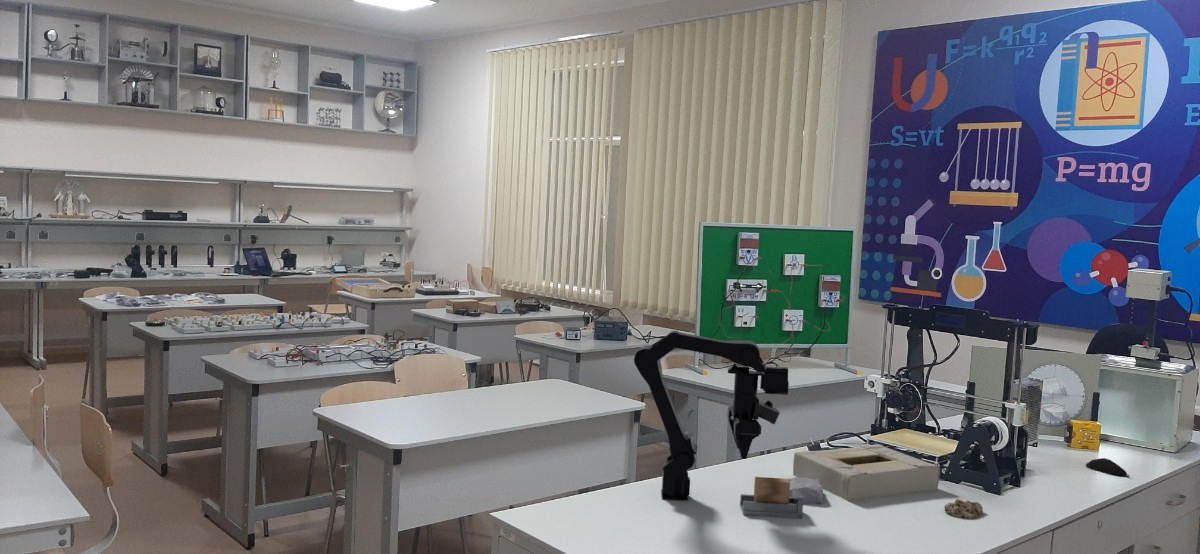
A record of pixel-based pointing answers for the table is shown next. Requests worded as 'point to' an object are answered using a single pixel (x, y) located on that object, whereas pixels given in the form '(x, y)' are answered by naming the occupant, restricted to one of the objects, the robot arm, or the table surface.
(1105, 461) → the black teardrop lump
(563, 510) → the table surface
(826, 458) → the box
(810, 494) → the stone block
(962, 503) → the mineral rock
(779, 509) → the floor track
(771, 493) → the brown wooden block
